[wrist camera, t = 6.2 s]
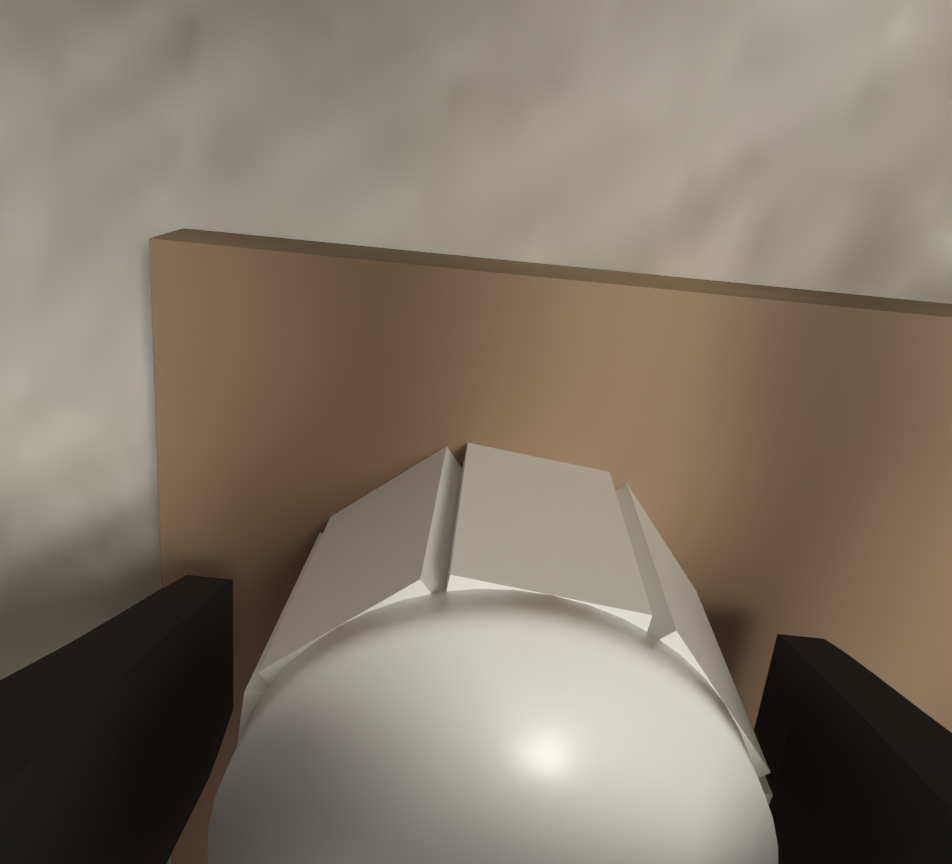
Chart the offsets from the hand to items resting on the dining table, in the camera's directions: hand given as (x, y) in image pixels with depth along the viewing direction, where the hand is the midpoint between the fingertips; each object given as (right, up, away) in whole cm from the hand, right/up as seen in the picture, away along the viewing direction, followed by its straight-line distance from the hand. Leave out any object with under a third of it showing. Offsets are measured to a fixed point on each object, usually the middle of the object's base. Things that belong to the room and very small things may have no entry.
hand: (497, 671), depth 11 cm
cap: (0, 0, +1) cm, 1 cm away
